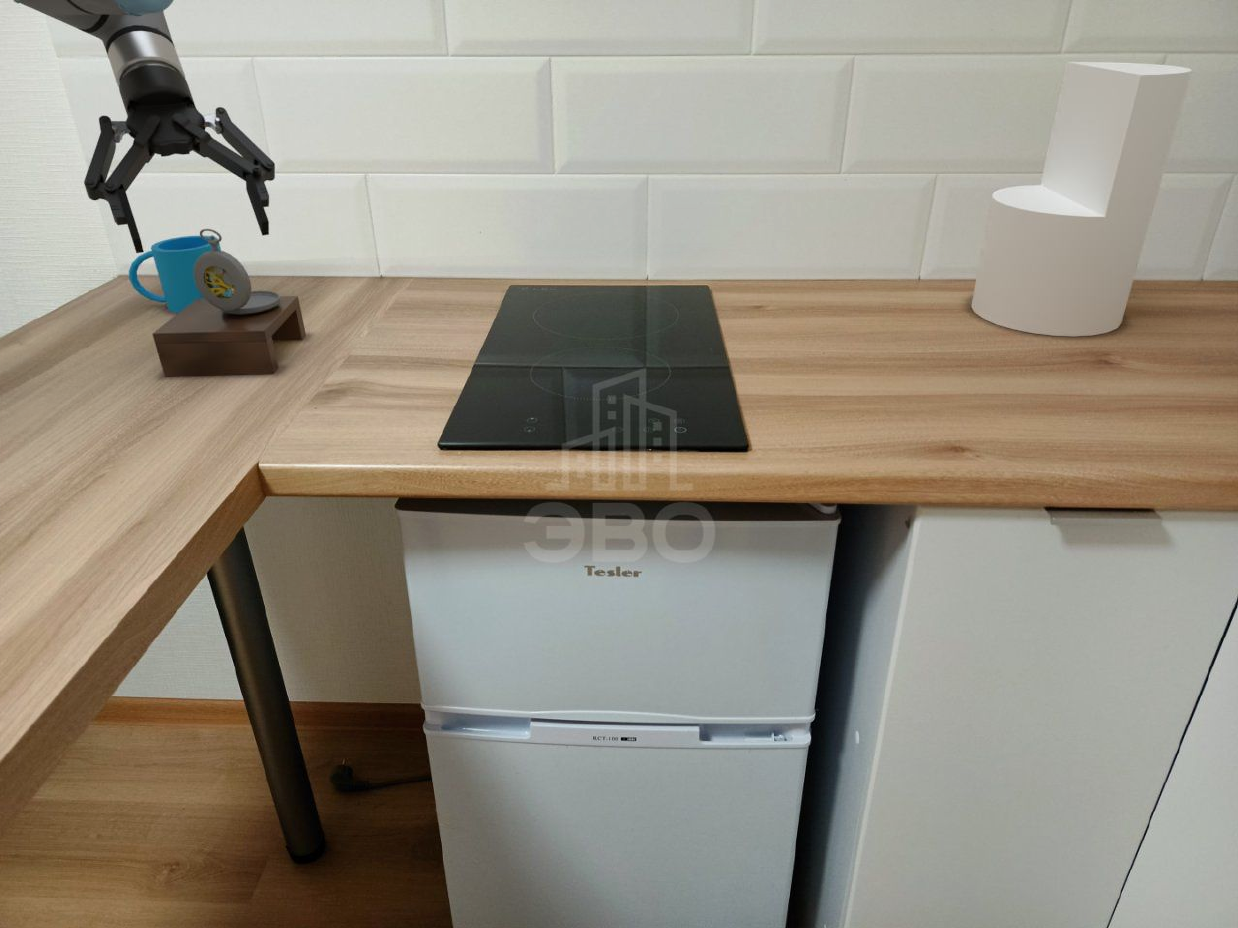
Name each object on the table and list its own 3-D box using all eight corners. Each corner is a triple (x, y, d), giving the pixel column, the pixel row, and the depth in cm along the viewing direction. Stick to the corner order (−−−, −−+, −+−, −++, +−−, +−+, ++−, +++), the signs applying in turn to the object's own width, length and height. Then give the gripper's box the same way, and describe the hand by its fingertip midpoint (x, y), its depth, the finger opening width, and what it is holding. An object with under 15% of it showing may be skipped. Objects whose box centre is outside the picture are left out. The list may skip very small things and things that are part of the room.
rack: (164, 376, 94) (151, 333, 92) (207, 337, 105) (197, 298, 102) (274, 373, 95) (264, 330, 92) (306, 335, 105) (298, 295, 103)
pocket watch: (281, 296, 102) (263, 211, 98) (280, 318, 96) (261, 228, 91) (208, 304, 100) (185, 217, 95) (201, 327, 93) (177, 235, 88)
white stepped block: (1082, 290, 115) (1140, 61, 102) (1149, 335, 100) (1227, 73, 87) (952, 291, 116) (993, 63, 102) (999, 337, 101) (1054, 76, 87)
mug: (238, 292, 121) (224, 233, 117) (226, 310, 114) (211, 249, 110) (146, 299, 119) (129, 239, 115) (129, 318, 112) (110, 256, 108)
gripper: (262, 99, 111) (312, 239, 107) (39, 115, 100) (87, 272, 96) (261, 55, 105) (315, 203, 101) (23, 68, 94) (73, 234, 90)
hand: (204, 237), depth 98 cm, fingers open, 13 cm apart
